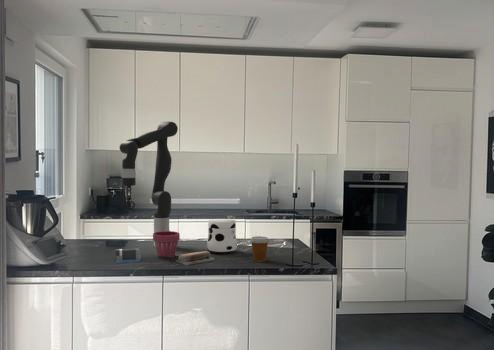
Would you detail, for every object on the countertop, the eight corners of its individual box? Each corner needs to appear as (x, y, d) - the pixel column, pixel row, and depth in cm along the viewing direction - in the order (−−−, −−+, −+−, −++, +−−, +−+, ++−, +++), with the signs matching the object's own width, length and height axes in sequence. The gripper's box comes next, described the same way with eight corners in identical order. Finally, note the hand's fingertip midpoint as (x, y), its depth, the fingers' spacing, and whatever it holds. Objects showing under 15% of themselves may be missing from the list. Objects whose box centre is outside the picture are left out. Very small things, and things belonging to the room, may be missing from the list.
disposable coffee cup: (257, 263, 241) (258, 239, 240) (246, 259, 248) (247, 237, 248) (272, 261, 246) (272, 238, 246) (261, 257, 254) (261, 235, 253)
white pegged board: (138, 254, 260) (138, 247, 260) (141, 262, 239) (141, 255, 239) (115, 255, 256) (115, 248, 256) (116, 264, 235) (116, 257, 235)
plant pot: (171, 260, 245) (171, 235, 245) (147, 258, 250) (147, 234, 249) (184, 255, 258) (184, 232, 258) (161, 253, 263) (161, 230, 263)
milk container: (243, 252, 269) (243, 220, 268) (221, 256, 256) (221, 223, 255) (222, 248, 280) (222, 217, 280) (200, 252, 268) (200, 220, 267)
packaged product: (186, 256, 234) (175, 253, 242) (186, 266, 235) (175, 262, 242) (214, 251, 247) (203, 249, 254) (214, 261, 247) (203, 258, 254)
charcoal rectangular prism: (135, 258, 244) (135, 248, 244) (135, 259, 241) (136, 249, 241) (115, 259, 241) (115, 249, 241) (115, 260, 238) (115, 250, 238)
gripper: (136, 177, 258) (136, 208, 259) (134, 176, 271) (134, 206, 272) (122, 177, 256) (122, 209, 257) (121, 176, 269) (121, 206, 269)
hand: (128, 207), depth 264 cm, fingers closed
